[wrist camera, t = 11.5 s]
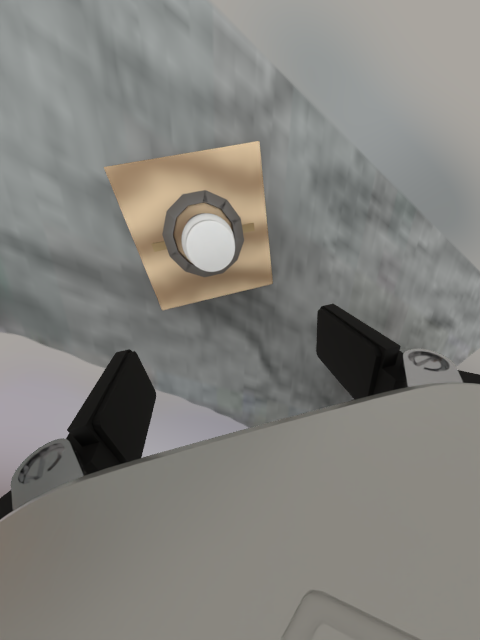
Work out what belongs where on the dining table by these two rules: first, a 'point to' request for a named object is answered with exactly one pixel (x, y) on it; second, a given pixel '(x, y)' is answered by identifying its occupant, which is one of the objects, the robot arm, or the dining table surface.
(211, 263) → the pill bottle
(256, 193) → the socket board
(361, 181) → the dining table surface
